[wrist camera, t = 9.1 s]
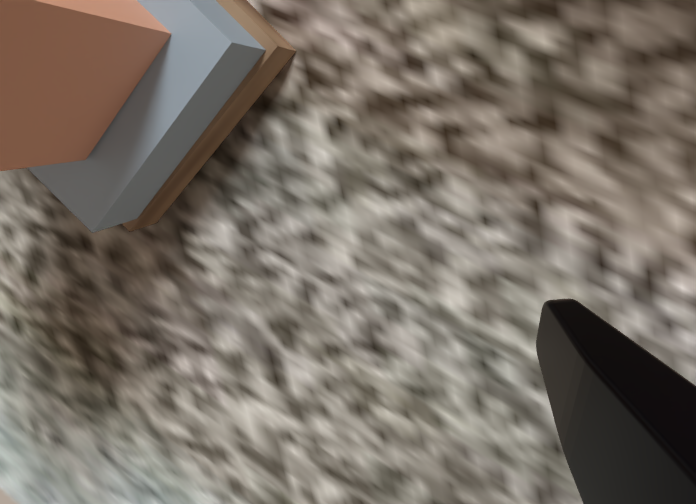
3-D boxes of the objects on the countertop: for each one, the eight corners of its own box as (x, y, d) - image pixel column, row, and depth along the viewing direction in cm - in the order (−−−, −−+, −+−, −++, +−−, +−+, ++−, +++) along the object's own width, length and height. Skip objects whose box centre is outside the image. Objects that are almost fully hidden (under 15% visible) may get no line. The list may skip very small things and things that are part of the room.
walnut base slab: (303, 53, 21) (277, 46, 18) (166, 219, 24) (129, 231, 22) (131, -123, 21) (84, -152, 18) (18, 67, 24) (-35, 63, 22)
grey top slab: (266, 49, 18) (231, 42, 16) (137, 218, 21) (92, 232, 19) (93, -121, 19) (33, -154, 16) (-13, 69, 21) (-76, 65, 19)
